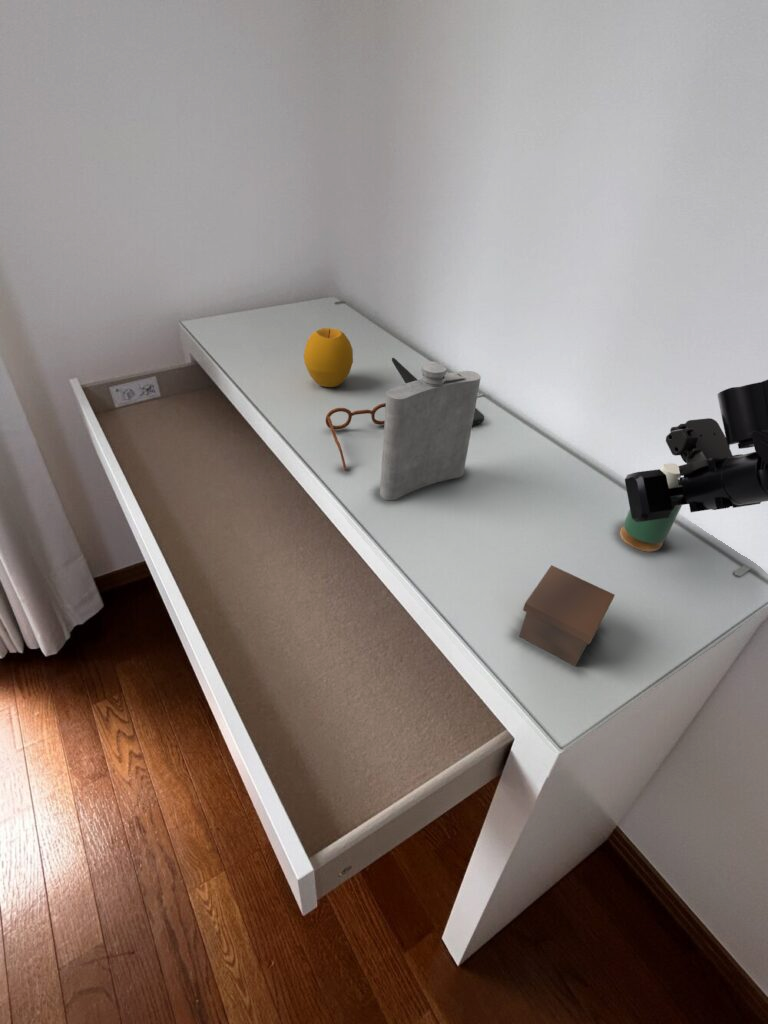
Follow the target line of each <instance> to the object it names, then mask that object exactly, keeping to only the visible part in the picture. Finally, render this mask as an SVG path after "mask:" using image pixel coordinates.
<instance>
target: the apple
mask: <svg viewBox="0 0 768 1024" xmlns="http://www.w3.org/2000/svg"><path fill="white" fill-rule="evenodd" d="M303 351H304V352H303V361H304V365H305V367H306V370H307V372H308V374H309V376H310V377H311V379H312V381H314V382H315V383H316V384H317V385H318V386H321V387H326V388H335V387H338V386H340V385H341V384H342V383H344V381H345V380H346V379H347V378H348V376H349V374H350V372H351V369H352V367H353V363H354V349H353V346H352V344H351V342H350V339H349V338H348V336H347V335H346V334H345V333H344V332H343V331H341V330H339V328H331V327H323V328H320V329H317V330H315V331H313V332H312V333H311V334H310V336H309V337H308V339H307V340H306V344H305V347H304V350H303Z"/></svg>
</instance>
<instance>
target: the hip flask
mask: <svg viewBox="0 0 768 1024" xmlns="http://www.w3.org/2000/svg"><path fill="white" fill-rule="evenodd" d="M420 373H421V374H422V375H421V378H420V379H417V380H416V381H413V382H409V383H404V384H401V385H398V386H395V387H392V388H390V389H388V390H387V391H386V396H385V403H386V407H385V411H384V412H385V413H384V421H385V424H383V425H384V426H383V439H382V440H383V441H382V442H383V443H382V455H381V457H382V458H381V470H380V471H381V472H380V484H379V497H380V498H381V499H383V500H386V501H396V500H398V499H400V498H402V497H403V496H405V495H408V494H410V493H412V492H414V491H417V490H419V489H421V488H424V487H428V486H431V485H434V484H437V483H441V482H444V481H449V480H454V479H459V478H461V477H463V476H464V473H465V468H466V462H467V457H468V450H469V445H470V439H471V433H472V428H473V425H472V423H473V418H474V412H475V408H476V405H477V399H478V395H479V389H480V384H481V378H482V376H481V374H479V373H478V372H475V371H474V370H473V371H472V370H461V371H455V372H448V367H447V365H446V364H444V363H442V362H438V361H427V362H423V363H422V364H421V368H420Z"/></svg>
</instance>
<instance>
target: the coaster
mask: <svg viewBox="0 0 768 1024" xmlns="http://www.w3.org/2000/svg"><path fill="white" fill-rule="evenodd" d="M619 531H620V532H619V535H620V538H621V539H622V540H623V542H624V543H625V544H626V545H628V546H629V547H631V548H632V549H635V550H638V551H641V552H647V553H649V552H650V553H651V552H656V551H659V550H660V549H661V548H662V547H663V544H664V541H662V542H660V543H646V542H642V541H640V540H637V539H635V538H634V537H632V536H631V535H630V534H629V533H628V532H627V531H626V530H625V528H624V525H623V526H622V527H621V529H620V530H619Z"/></svg>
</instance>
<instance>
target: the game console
mask: <svg viewBox="0 0 768 1024" xmlns="http://www.w3.org/2000/svg"><path fill="white" fill-rule="evenodd" d="M391 361H392V363H393V365H394V367H395V369H396V370H397V372H398V374H399V375H400V377H401V379H402V380H403V382H404V384H406V383H409V382H413V381H416V380H418V379H417V377H416V376H414V374H412V372H410V371H409V370H408V369H407V368H406V367H405V366H403V364H401V363H400V362H399V361H398V360H397V359H396V358H395V357H392V358H391ZM484 421H485V415H484V414H483V413H482V412H481V411H480V410H479V409H477V408H476V407H475V412H474V418H473V423H472V426H473V425H477V424H481V423H483V422H484Z"/></svg>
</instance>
